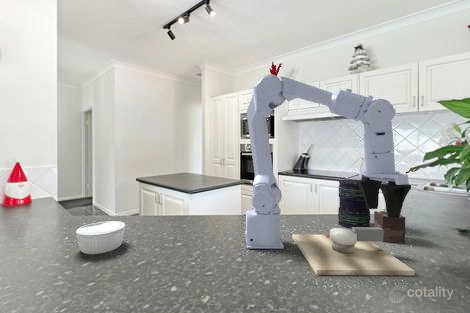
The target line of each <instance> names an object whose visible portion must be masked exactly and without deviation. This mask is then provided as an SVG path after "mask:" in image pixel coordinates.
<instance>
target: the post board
mask: <svg viewBox="0 0 470 313" xmlns="http://www.w3.org/2000/svg"><path fill="white" fill-rule="evenodd" d="M291 238H292V240H293V241H294V243H295V244H296V247H297V248H298V249H299V250H300V252H301V253H302V255H303V256H304V258H305V260H306V261H307V263H308V264H309V266H310V267H311V269H312V270H313V271H314V273H315V275H316V276H320V275H321V276H415V273H416V272H415V269H413V268H411V267H410V266H408V265H407V264H406V263H404V262H402V261H401V260H400V259H398V258H396V257H395V256H393V255H392V254H391V253H389V252H388V251H386V250H384V249H383V248H381V246H378V245H377V244H376V243H374V242H365V241H357V243H356V244H354V245H343V244H338V243H335V242H333V241H331V240H330V234H300V233H299V234H294V233H293V234H292V235H291Z"/></svg>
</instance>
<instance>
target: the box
mask: <svg viewBox="0 0 470 313" xmlns="http://www.w3.org/2000/svg"><path fill="white" fill-rule="evenodd" d="M406 218H407V217H406V216H403V215H401V214H400V217H393V218H390V217H388V215H387V211H386V210H385V211H383V210H374V211H373V227H380V228H382V229H384V237H383V242H386V243H399V244H405V243H406V220H407V219H406ZM383 242H382V243H383Z"/></svg>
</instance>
